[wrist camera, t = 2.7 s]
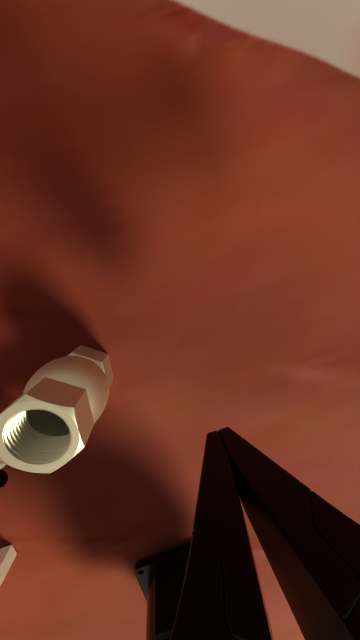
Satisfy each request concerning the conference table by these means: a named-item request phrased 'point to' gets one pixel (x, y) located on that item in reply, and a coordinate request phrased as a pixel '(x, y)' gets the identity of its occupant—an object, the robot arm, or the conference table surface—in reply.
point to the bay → (6, 560)
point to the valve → (55, 412)
